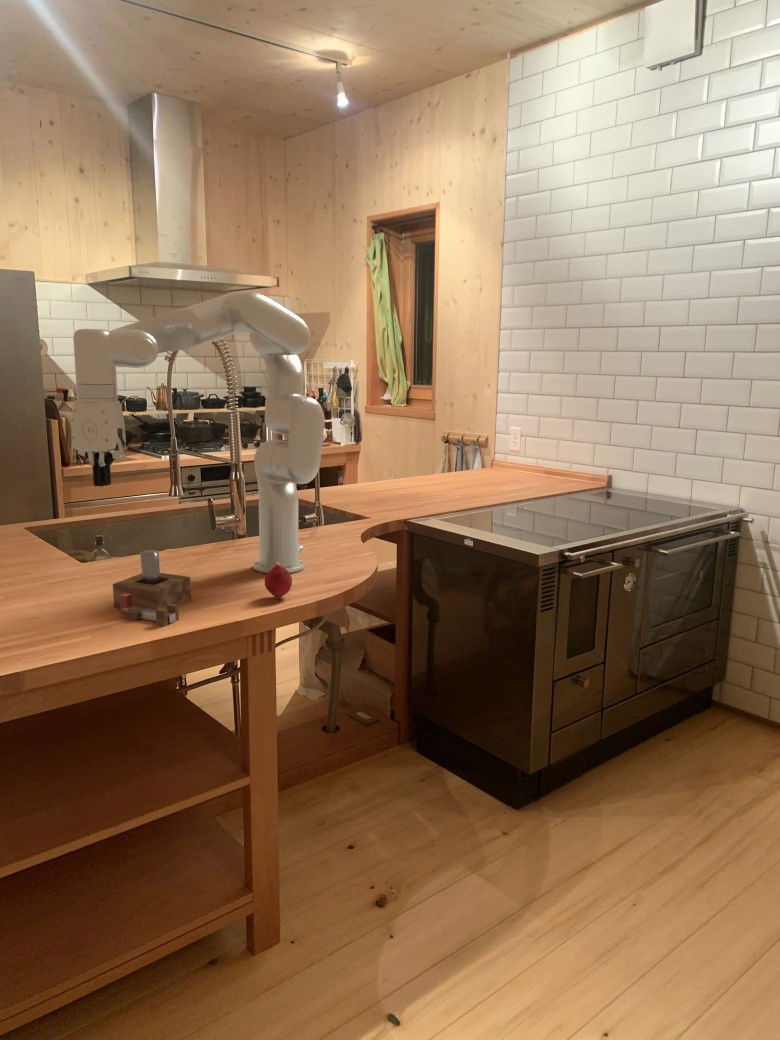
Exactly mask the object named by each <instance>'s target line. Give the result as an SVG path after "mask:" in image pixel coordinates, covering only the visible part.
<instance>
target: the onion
mask: <svg viewBox="0 0 780 1040" xmlns="http://www.w3.org/2000/svg"><path fill="white" fill-rule="evenodd" d="M292 585H293V578H292V575H291V573H289V572H288V571H287V570H286V569H285V568H284V567H282V566H281V565H280V564H279V563H278V562H276V563H275V567H273V568H272V569H271V570H270V571H269V572H268V573H266V576H265V579H264V587H265V588H266V590H267V592H269V593H270V594H271V595H272V596H274V598H276V599H280V598H282V597H283V596H285V595H286V594H287V593H288V592H289V591H290V590H291V588H292Z"/></svg>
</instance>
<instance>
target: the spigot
mask: <svg viewBox="0 0 780 1040" xmlns="http://www.w3.org/2000/svg"><path fill="white" fill-rule="evenodd" d="M139 555H140V565H141V573H142V577H143V584H150V585H156V584H159V583H161V575H160V573H161V567H160V557H159V550H158V549H147V550H142V551H140V553H139Z"/></svg>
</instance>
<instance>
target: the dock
mask: <svg viewBox="0 0 780 1040" xmlns="http://www.w3.org/2000/svg"><path fill="white" fill-rule="evenodd" d="M160 575H161V583H159V584H156V585H150V584H143V577H142V572H141V573H139V574H136V575H133V576H131V577H128V578H126V579H123V580H120V581H117V582H115V583H114V582H113V584H112V594H113V608H115V609H120V595H122V594H124V593H127V594H132V606H135V607H142V608H148V609H155V610H156V621H155V624H156V626H161V627H166V626H168V625H169V623H168V612H174V613H175V617H176V621H179V620H180V613H179V609H180V608H179V605H182V604H184V603H186V602H188V601H191V600H192V596H191V595H192V593H191V592H192V588H191V576H188V575H187V576H185V575H180V574H172V573H166V572H165V573H163V572H160ZM122 617H123V620H128V621H134V622H136V621H139V618H138V612H134V611H128V610H125V611H123V615H122ZM176 621H175V622H176Z"/></svg>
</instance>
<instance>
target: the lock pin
mask: <svg viewBox="0 0 780 1040" xmlns="http://www.w3.org/2000/svg"><path fill="white" fill-rule="evenodd" d="M119 609H120V615H121V616H123V611H125V610H128V611H134V612H138V619H141V620H147V621H153V622H156V610H155V609H148V608H142V607H135V606H132V594H127V593H124V594H122V595H120V608H119ZM174 622H176V617H175V613H174V612H168V624H171V623H174Z"/></svg>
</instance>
